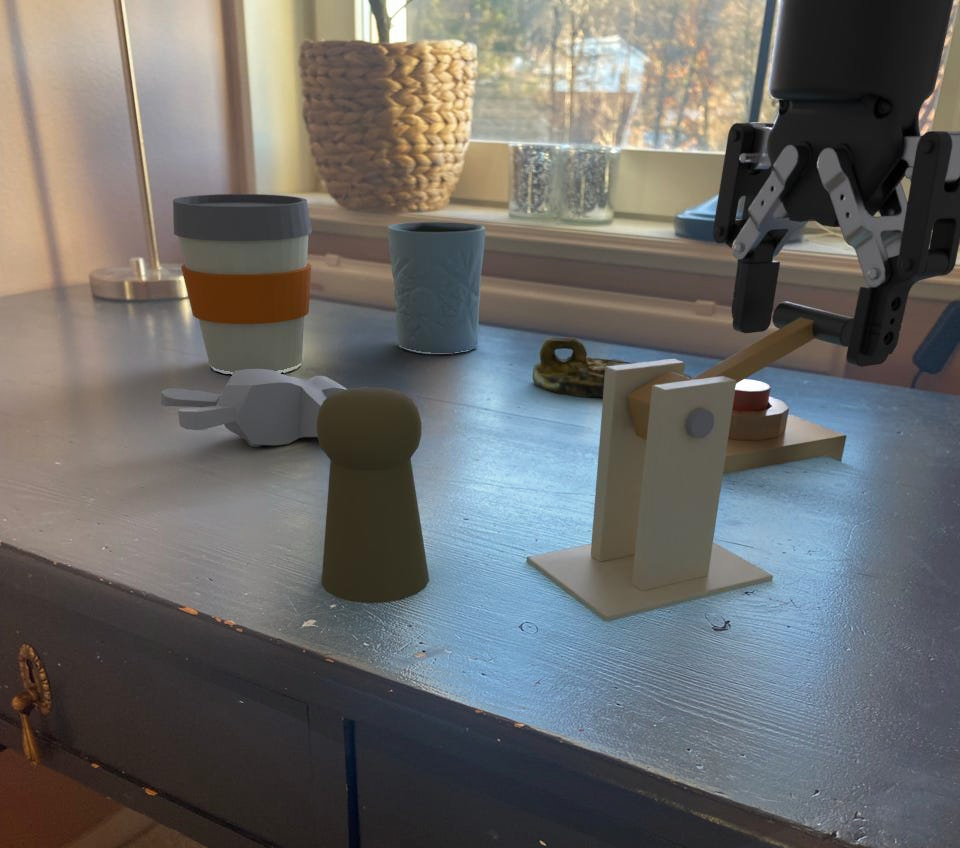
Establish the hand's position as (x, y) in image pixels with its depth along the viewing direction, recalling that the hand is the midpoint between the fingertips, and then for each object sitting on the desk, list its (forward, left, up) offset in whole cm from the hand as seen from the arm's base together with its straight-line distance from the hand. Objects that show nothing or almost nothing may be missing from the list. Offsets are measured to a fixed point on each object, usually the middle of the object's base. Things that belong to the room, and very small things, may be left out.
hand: (804, 346), depth 52 cm
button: (-6, -18, -9) cm, 21 cm away
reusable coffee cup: (+31, -50, -12) cm, 61 cm away
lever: (+4, +1, -2) cm, 4 cm away
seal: (-2, -38, -12) cm, 40 cm away
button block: (-6, -18, -12) cm, 23 cm away
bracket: (+8, +3, -12) cm, 15 cm away
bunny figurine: (+29, -26, -12) cm, 41 cm away
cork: (+23, +2, -12) cm, 27 cm away
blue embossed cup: (+12, -57, -12) cm, 60 cm away
